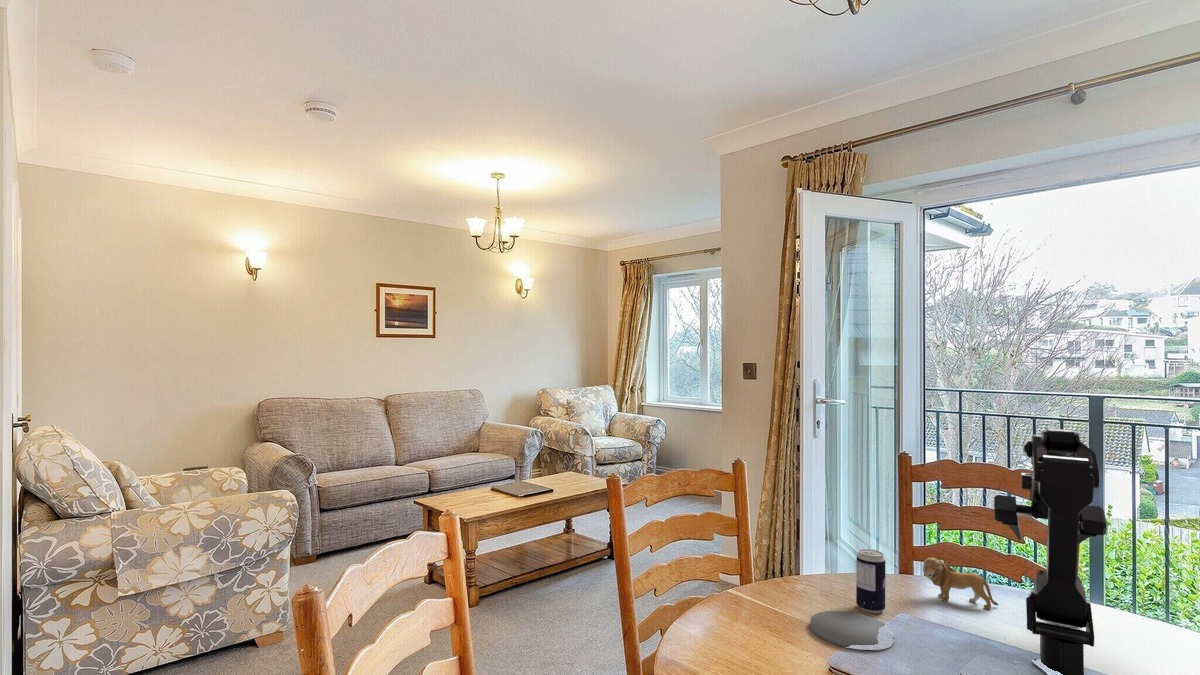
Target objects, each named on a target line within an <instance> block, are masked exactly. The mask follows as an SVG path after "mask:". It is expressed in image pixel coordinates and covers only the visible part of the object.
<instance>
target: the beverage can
mask: <svg viewBox="0 0 1200 675" xmlns="http://www.w3.org/2000/svg"><path fill="white" fill-rule="evenodd" d="M855 570H856V572H855V573H856V577H855V580H856V589H855V591H856V593H855V596H856V597H855V598H856V599H855V600H856V603H855V604H856V605H857V606H858V608H859V609H860V610H862V611H863V612H865V613H869V614H880V613H882V611H884V610H885V609H886V559H885V557H884V553H883V552H882V551H879V550H876V549H868V548H867V549H865V548H864V549H863V548H861V549H859V550H858V553H857V555H856V569H855Z"/></svg>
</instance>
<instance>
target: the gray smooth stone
mask: <svg viewBox="0 0 1200 675" xmlns="http://www.w3.org/2000/svg"><path fill="white" fill-rule="evenodd" d="M885 624H886V623H885V622H883V621H881V620H878V619H876V618H874V617H871V616H868V615H865V614H861V613H857V612H851V611H843V610H828V611H821V612H817V613H815V614H813V615H812V616H811V618H810V629H811V631H812V632H813V634H814V635H815V636H816V637H817V638H819V639H821V640H822V641H825V642H827V643H829V644H832V645H834V646H838V647H840V648H844V649H847V648H846V647H849V646H851V645H875V644H878V640H877V638H878V637H877V636H878V633H879V632H878V630H879V628H881V627H883V626H885ZM876 637H877V638H876Z"/></svg>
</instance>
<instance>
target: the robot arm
mask: <svg viewBox="0 0 1200 675" xmlns="http://www.w3.org/2000/svg"><path fill="white" fill-rule="evenodd" d="M1040 433H1041V434H1032V435H1031V439H1027V442H1026V443H1025V444H1024V445H1023V446H1022V450H1023V451H1022V453H1024V454H1026V456H1027V458H1030V464H1031V466H1032V468H1031V469H1032V473H1029V472H1027V473H1025V472H1021V477H1020V485H1021V490H1027V491H1029V501H1030V505H1024V504H1017V498H1016V496H1012V495H1011V496H1010V495H1005V494H1004V495H1002V494H996V495H995V496H994V497H993V508H994V509H993V512H994V513H993V514H994V518H993V519H994V520H996V521H997V522H1001V524H1002V525H1006V526H1007V527H1008V528H1009V529H1010V530H1011V531H1012V532H1013V533H1014V535H1015V537H1016V539H1017V540H1018V541H1022V531H1021V530H1022V529H1021V525H1020V520H1019V517H1028V518H1034V519H1041V520H1047V531H1046V532H1047V535H1046V536H1047V537H1046V540H1047V541H1046V566H1045V567H1046V568H1045V570H1038V571H1037V573H1036V577H1035V579H1034V580H1035V581H1034V590H1030V592H1029V594H1028V596H1027V597H1026V598H1025V607H1026V610H1025V611H1026V629H1027V630H1028V631H1030V632H1032V635H1039V641H1040V642H1039V658H1040V657H1041V658H1040V659H1041V662H1042V663H1043V664H1044V665H1046V666H1047V667H1048V668H1050V669H1052V670H1054V671H1058V672H1060V673H1061V674H1063V675H1084V672H1085V670H1084V669H1085V663H1084V656H1085V655H1084V654H1085V653H1084V652H1085V651H1084V649H1085V648H1084V645H1086V646H1090V647H1095V632H1094V630H1095V629H1094V623H1093V622H1094V621H1093V612H1092V605H1091V601H1090V600H1087V597H1086V590H1085V587H1084V585H1083V583H1082V580H1081V578H1080V577H1079V576H1078V575H1077V574H1078V556H1079V554H1078V553H1079V545H1081V543H1083V542H1084V541H1086V540H1088V539H1089V538H1091V537H1094V538H1096V537H1098V536H1104V535H1106V534H1107V529H1108V525H1107V524H1108V523H1107V519H1106V515H1105V509H1103V507H1101V506H1099V505H1091V504H1092V503H1093V502H1094V493H1095V490H1096V489H1097V490H1098V489H1099V488H1100V471H1099V466H1098V460H1097V457H1096V455H1097V454H1096V453H1095V452H1094V451H1093V450H1092V449H1091V448H1090V447H1088V445H1086V444H1085V443H1084V442H1082V440H1080V433H1079V432H1078V431H1074V430H1072V429H1061V428H1060V429H1057V428H1047V429H1042V431H1041V432H1040ZM1037 619H1039V620H1040V621H1039V620H1038V621H1037ZM1043 621H1045V622H1043ZM1047 622H1050V623H1047ZM1052 622H1054V623H1059V624H1064V625H1069V626H1074V627H1065V626H1060V625H1057V624H1054V623H1052ZM1075 627H1076V628H1075ZM1077 628H1079V629H1077ZM1083 628H1085V630H1082V629H1083Z"/></svg>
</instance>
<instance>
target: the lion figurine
mask: <svg viewBox="0 0 1200 675" xmlns="http://www.w3.org/2000/svg"><path fill="white" fill-rule="evenodd" d="M922 567H923V568H922V572H923V574H924V577H925V578H926V579H928V580H930V581H931V583H932V584H933V585H935V586H937V587H939V588H940V593H939V594H938V596H937V597H939V596H940V597H939V598H941V601H942V602H944V601H948V602H949V600H950V590H951V588H953V589H956V590H966V589H969V588H971V589H972V591H973V594H974V596H973V598H969V600H968V601H969V602H971V603H976V602H977V601H978V600H979V599H980V598H981V599H983V600H984V602H985V603H986V604H984V605H983V608H985V609H986V610H990V609H991V608H992V605H993V606H999V604H998V603H997V601H995V600H994V599H993V597H992V596H993V595H992V593H991V589H990V586H989V584H988V582H987V581H986V579H985V578H984V577H982V576H981V575H979V574H977V573H973V572H958V571H956V570H955V569H953V568H952V567H951V566H950V565H948V564H947V563H945V562H942V561H941V560H940V559H938V558H935V557H928V558H926V559H923V565H922ZM984 588H985V589H986V591H985V589H984ZM986 592H987V593H986Z"/></svg>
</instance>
